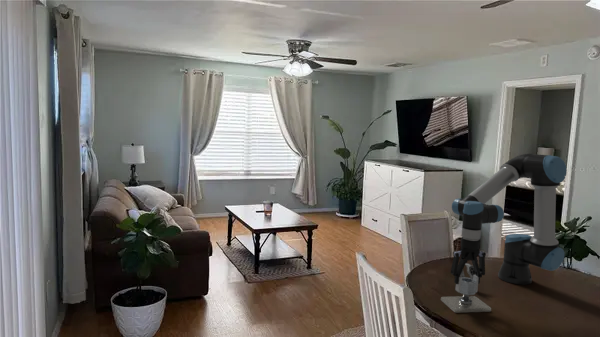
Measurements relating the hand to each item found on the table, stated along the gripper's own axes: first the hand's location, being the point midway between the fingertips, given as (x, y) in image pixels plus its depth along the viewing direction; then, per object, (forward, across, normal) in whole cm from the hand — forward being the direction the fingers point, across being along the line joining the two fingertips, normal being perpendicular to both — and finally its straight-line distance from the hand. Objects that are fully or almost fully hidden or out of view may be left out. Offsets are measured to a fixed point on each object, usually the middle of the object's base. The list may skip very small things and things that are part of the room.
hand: (466, 290), depth 176 cm
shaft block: (+7, 0, 0) cm, 7 cm away
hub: (0, 0, 0) cm, 0 cm away
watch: (+7, -12, -20) cm, 24 cm away
